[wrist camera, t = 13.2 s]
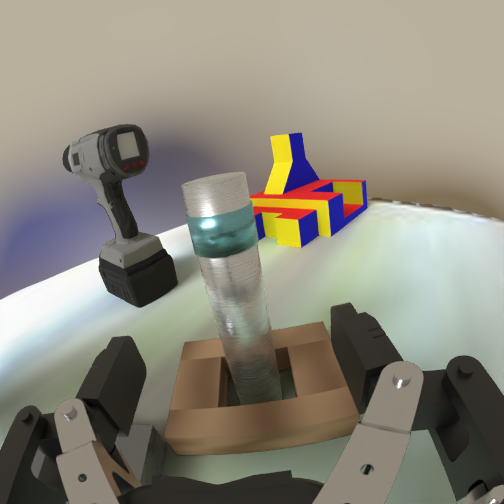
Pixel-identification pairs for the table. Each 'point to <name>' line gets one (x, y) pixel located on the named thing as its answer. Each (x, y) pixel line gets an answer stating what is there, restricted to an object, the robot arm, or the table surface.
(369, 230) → the table surface
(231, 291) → the clear test tube
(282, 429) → the rack block
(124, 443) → the grey flat square frame
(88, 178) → the cordless drill
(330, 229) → the building blocks toy
